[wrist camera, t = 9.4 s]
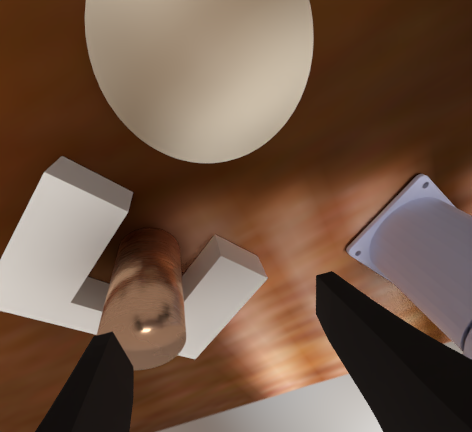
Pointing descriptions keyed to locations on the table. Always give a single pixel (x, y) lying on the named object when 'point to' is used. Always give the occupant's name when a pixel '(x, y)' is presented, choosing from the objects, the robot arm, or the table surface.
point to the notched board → (90, 249)
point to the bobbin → (201, 70)
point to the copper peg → (146, 299)
